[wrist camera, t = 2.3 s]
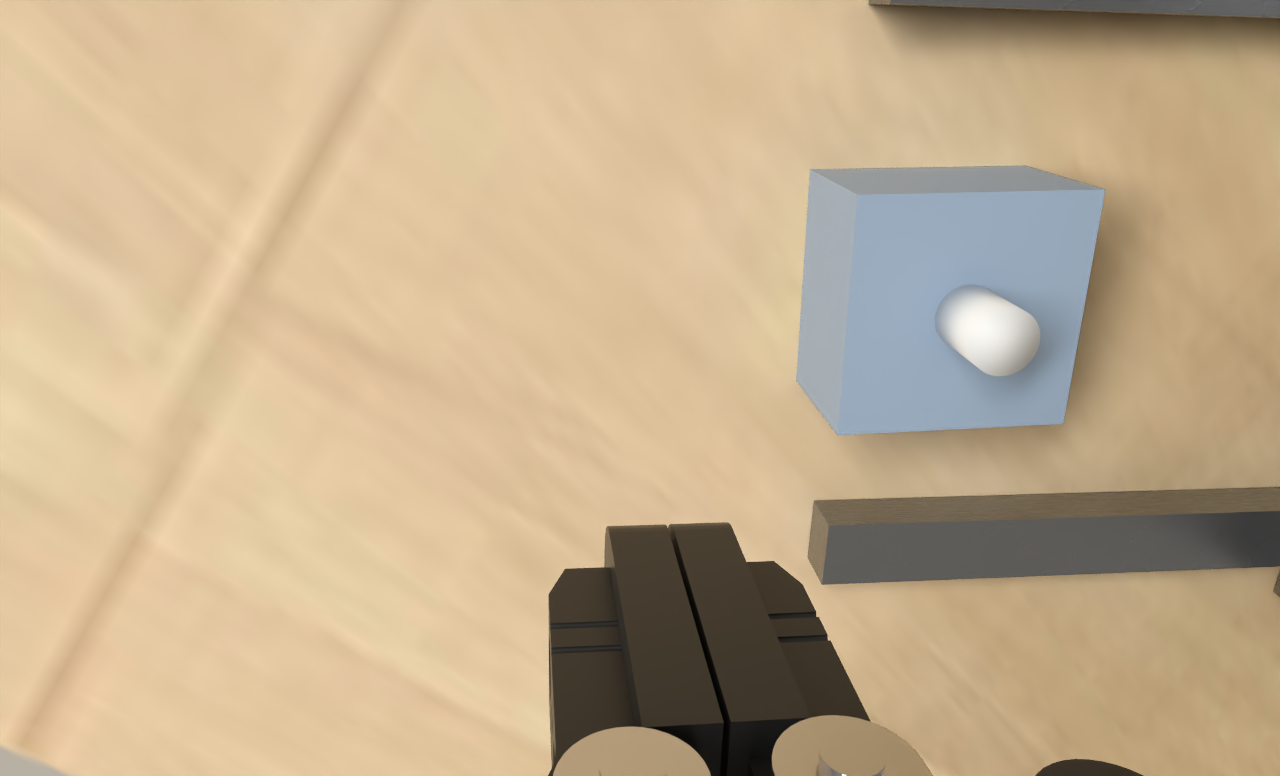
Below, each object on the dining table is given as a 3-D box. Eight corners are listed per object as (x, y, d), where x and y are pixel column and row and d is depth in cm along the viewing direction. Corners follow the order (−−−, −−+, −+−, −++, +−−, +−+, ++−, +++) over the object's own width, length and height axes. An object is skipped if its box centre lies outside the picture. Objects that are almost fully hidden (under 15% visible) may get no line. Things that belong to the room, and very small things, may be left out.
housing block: (808, 168, 25) (889, 211, 20) (1021, 164, 26) (1158, 205, 20) (794, 378, 27) (863, 470, 22) (991, 370, 28) (1108, 457, 22)
